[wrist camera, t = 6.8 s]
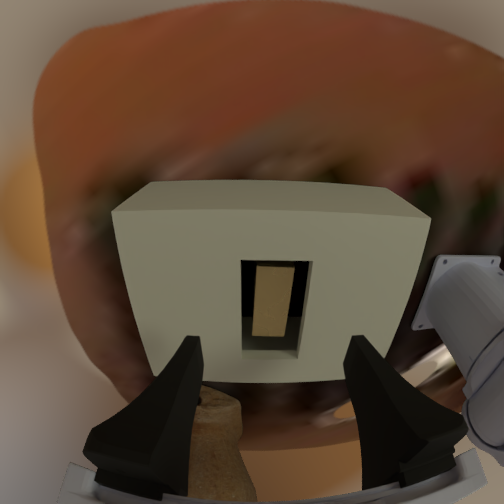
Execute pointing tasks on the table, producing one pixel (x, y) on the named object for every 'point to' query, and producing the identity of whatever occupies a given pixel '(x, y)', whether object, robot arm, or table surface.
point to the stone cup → (218, 450)
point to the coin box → (267, 248)
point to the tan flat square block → (271, 296)
